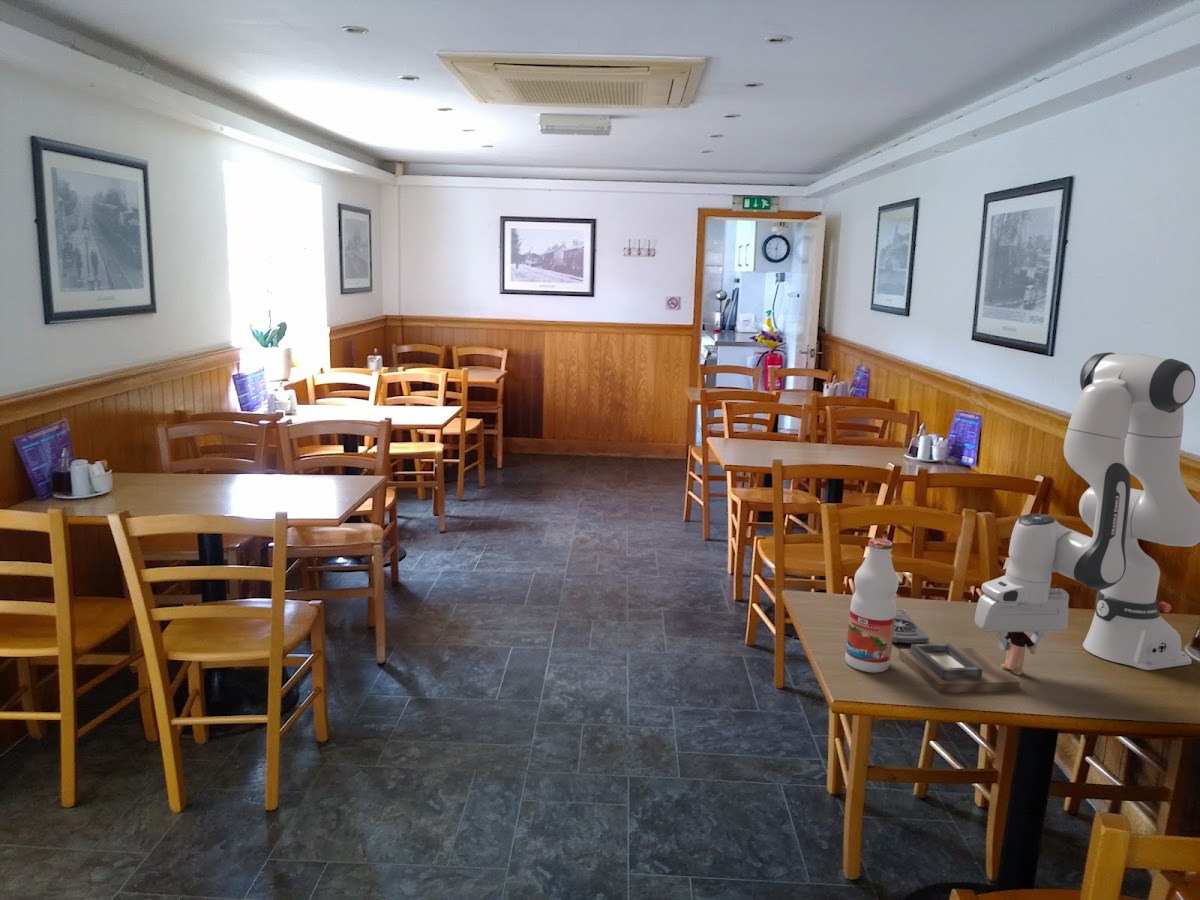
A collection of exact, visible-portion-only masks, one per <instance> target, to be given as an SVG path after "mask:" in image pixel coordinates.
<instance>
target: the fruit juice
mask: <svg viewBox="0 0 1200 900" xmlns="http://www.w3.org/2000/svg"><path fill="white" fill-rule="evenodd" d="M867 545H868V549H869V550H868V553H866V556H865V559H864V560H863V562H862V564H861V565H860V566H859V568H858V569H857V570H856V571H855V574H854V581H853V582H854V589H855V591H854V593H853V595H852V597H851V601H850V608H849V619H848V626H847V634H846V635H847V636H846V644H845V653H844V658H845V662H846V664H847V665H849V666H850V667H852V668H853V669H855V670H857V671H861V672H865V673H875V674H876V673H883V672H885V671H887V670H888V669H889V668H890V667H889V666H890V664H891V656H892V655H891V654H892V649H893V647H892V646H893V642H892V641H893V632H894V624H895V616H896V614H897V611H896V610H897V601H896V598H895V597H896V594H897V591H898V589H899V576H898V575H897V573H896V571H895V569H894V565H893V561H892V555H891V552H892V550H893V545H894V544H893V542H892V541H891V540H889V539H884V538H880V537H879V538H878V537H877V538H876V537H875V538H873V537H872V538H870V539H869V540H868V544H867Z"/></svg>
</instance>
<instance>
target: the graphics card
mask: <svg viewBox="0 0 1200 900" xmlns="http://www.w3.org/2000/svg"><path fill="white" fill-rule="evenodd" d="M913 629H914V630H913ZM929 639H930V637H929V636H928V635H927V634H926V633H925V632H924V630H922V629H921V628H920V627H919V626H918V625H917V624H916V623H915V622H914V621H913V620H912V619H911V618H910V617H909V616H908V615H907V610H906V609H896V616H895V624H894V632H893V641H892V643H895V644H896V643H903V644H904V643H906V644H910V643H911V644H921V643H923V644H929V643H930V642H929ZM920 642H921V643H920Z"/></svg>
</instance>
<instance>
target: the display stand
mask: <svg viewBox="0 0 1200 900" xmlns="http://www.w3.org/2000/svg"><path fill="white" fill-rule="evenodd" d="M898 657H899V658H900V660H901V662H903V661H904V662H905V663H906V664H907V665H906V664H905V663H904V662H903V663H904V664H905V665H906V666H907V667H908V668H910V669H911V670H912V671H913V670H914V671H915V672H914V671H913V672H914V673H915V674H916V675H918V676H919V677H920V676H921V677H922V678H923V681H925V682H926V683H927V684H928V685H929V684H930V685H931V686H930V685H929V686H930V687H932V689H934V690H935V691H936V692H937V691H938V692H937V693H939V694H944V693H945V694H946V693H950V694H952V693H976V692H977V693H979V692H980V693H981V692H986V693H987V692H1017V691H1018V692H1019V691H1020V686H1021V681H1020V680H1019V679H1017V678H1016V677H1014V676H1013V675H1011V674H1010V673H1009V672H1008V671H1007V670H1004V669H1002V668H1001V667H1000V666H999V665H998V664H996V663H995V662H993V660H991V659H989V658H988V657H987V656H985V655H984V654H983V653H982V652H979V650H977V649H976V648H974V647H953V645H951V644H950V643H911V644H910V648H900V649H898ZM899 658H898V659H899ZM921 677H920V678H921ZM922 678H921V679H922Z"/></svg>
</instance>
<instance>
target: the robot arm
mask: <svg viewBox="0 0 1200 900" xmlns="http://www.w3.org/2000/svg"><path fill="white" fill-rule="evenodd" d="M1079 384H1080V388H1081V393H1080V395H1079V396H1078V399H1077V401H1076V403H1075V405H1074V409H1073V410H1072V413H1071V417H1070V419H1069V421H1068V422H1069V423H1068V426H1067V429H1066V433H1065V436H1064V441H1063V457H1064V459H1065V461H1066V463H1067V464H1068V466H1069V467H1070V468H1071V469H1072V470H1073V472H1075V473H1076V474H1077V475H1078V476H1080V477H1081V478H1082V479H1083V480H1084V481H1085V482H1086V483H1087V484H1089V487H1088V488H1087V489H1086V490H1085V491H1084V492H1083V493H1082V495H1081V497H1080V499H1079V502H1078V509H1079V510H1078V512H1079V515H1080V517H1081V519H1082V521H1083V522H1084V523H1085V524H1086V525H1087V526H1088V527H1089V528H1090V530H1091V531H1092V532H1093V533H1092V537H1091V536H1088V535H1086V534H1084V533H1081V532H1079V531H1076V530H1073V529H1070V528H1068V527H1067V526H1064V525H1062V524H1061V523H1059V522H1058V521H1057V520H1056V517H1053V516H1051V515H1049V514H1044V513H1028V514H1024V515H1022V516H1019V518H1018V519H1017V520H1016V522H1015V524H1014V526H1013V529H1012V533H1011V536H1010V540H1009V548H1008V558H1009V562H1008V565H1007V568H1006V569H1005V574H1004V575H1002V576H1000V577H999V576H998V577H997V578H994V579H992V580H988V581H985V582H983V583H982V585H981V592H982V593H983V594H982V595H981V596H980V597H979V598H978V601H977V605H976V609H975V613H974V614H975V615H974V624H975V626H976V627H977V628H979V629H980V631H983V632H984V633H995V634H996V637H997V639H998V648H999V650H1001V651H1008V650H1009V649H1010V648H1009V647H1010V641H1008V640H1007V641H1006V639H1005V636H1007V634H1008V632H1024V633H1026V632H1027V633H1028V632H1031V633H1032V635H1031V637H1029V638H1030V639H1031V640H1032V642H1033V643H1034V648H1035V649H1034V650H1035V651H1036V650H1037V648H1038V643H1039V642H1040V641H1041V640H1042V638H1044V635H1045V632H1064V631H1065V630H1066V629H1067V628H1068V625H1069V601H1070V595H1069V592H1067V591H1066V590H1065V589H1064V588H1051V584H1052V573H1059V574H1060V575H1062V576H1065V577H1067V578H1070V579H1072V580H1075V581H1076V582H1078V583H1080V584H1081V585H1083V586H1085V587H1087V588H1088V589H1091V590H1092V591H1097V593H1096V599H1095V612H1094V614H1093V615H1094V616H1093V617H1092V621H1091V624H1090V628H1089V630H1088V632H1087V634H1086V637H1085V640H1084V641H1083V643H1082V647H1083V649H1085V650H1086V651H1087V652H1088V653H1091V654H1092V655H1094V656H1096V657H1098V658H1101V659H1103V660H1107V661H1110V662H1114V663H1118V664H1123V665H1127V666H1131V667H1134V668H1137V669H1140V670H1145V671H1153V670H1159V669H1165V668H1172V667H1173V668H1174V667H1181V666H1188V665H1191V664H1192V658H1191V657H1190V656H1189V655H1188V654H1187V653H1185V652H1184V651H1182V639H1181V635H1180V634H1179V632H1178V631H1177V630H1176V629H1175V628H1173V626H1171V625H1170V624H1169V623H1168V622H1167V621H1166V620H1165V619H1164V618H1163V617H1162V616H1161V614H1160V611H1162V612H1164V613H1169V612H1170V611H1171V609H1172V605H1171V604H1170V603H1167V602H1165V601H1158V599H1157V593H1158V588H1159V583H1160V578H1161V570H1160V567H1159V565H1158V563H1157V562H1156V560H1154V559H1153V558H1152V557H1150V556H1149V555H1148V554H1147V553H1145V552H1144V550H1143V549H1142V548H1141V547H1140V545H1139V542H1138V539H1140V540H1142V541H1146V542H1147V541H1148V542H1151V543H1156V544H1160V545H1164V546H1171V547H1187V548H1189V547H1190V548H1191V547H1193V546H1196V545H1197V544H1199V543H1200V502H1198V501H1197V500H1196V499H1195V498H1194V497H1193V495H1192V494H1191V493H1190V492H1189V490H1188V489H1187V487H1186V484H1185V483H1184V481H1183V478H1182V475H1181V470H1180V458H1181V446H1182V436H1183V429H1184V418H1185V417H1184V413H1185V412H1184V406H1185V404H1187V402H1188V401H1189V400H1190V399H1191V398H1192V396H1193V394H1194V391H1195V387H1196V376H1195V372H1194V371H1193V369H1192V368H1191V365H1189V364H1188V363H1186V362H1183V361H1181V360H1178V359H1175V358H1164V357H1159V356H1156V355H1155V356H1154V355H1149V354H1141V353H1139V354H1135V353H1134V354H1133V353H1114V352H1101V353H1096V354H1093V355H1092V356H1090V358H1089V359H1088V360H1086V361H1085V362H1084V364H1083V366H1082V368H1081V370H1080V375H1079ZM1131 475H1132V476H1134V477H1135V478H1136V479H1137V480H1138V481H1139V483H1140V484H1141V486H1142V488H1143V490H1142V489H1136V488H1132V487H1131V483H1132V482H1131V481H1132V480H1131ZM1025 649H1028V650H1029V651H1030V649H1029V647H1028V646H1027V645H1026V644H1025Z"/></svg>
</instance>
